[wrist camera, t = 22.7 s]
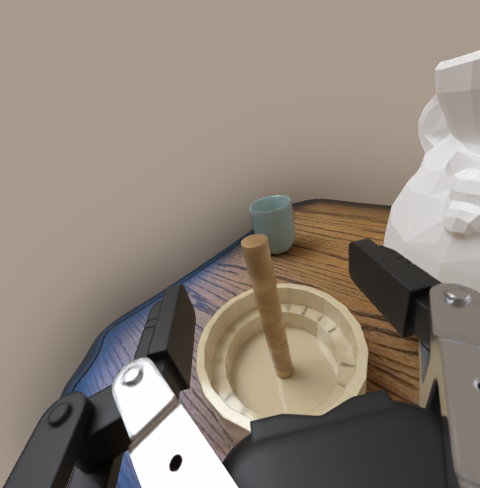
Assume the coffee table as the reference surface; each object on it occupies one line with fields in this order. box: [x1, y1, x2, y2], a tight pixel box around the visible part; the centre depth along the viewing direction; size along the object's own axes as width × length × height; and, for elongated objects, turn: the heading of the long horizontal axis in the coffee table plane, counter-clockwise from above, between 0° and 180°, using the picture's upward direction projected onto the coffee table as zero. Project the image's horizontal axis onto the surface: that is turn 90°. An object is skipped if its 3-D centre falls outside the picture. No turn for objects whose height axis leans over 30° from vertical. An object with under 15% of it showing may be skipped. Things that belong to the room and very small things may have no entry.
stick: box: [241, 234, 293, 379], centre depth 21 cm, size 2×2×16 cm
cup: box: [249, 196, 295, 254], centre depth 45 cm, size 8×8×10 cm
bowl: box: [196, 283, 368, 444], centre depth 24 cm, size 16×16×6 cm
